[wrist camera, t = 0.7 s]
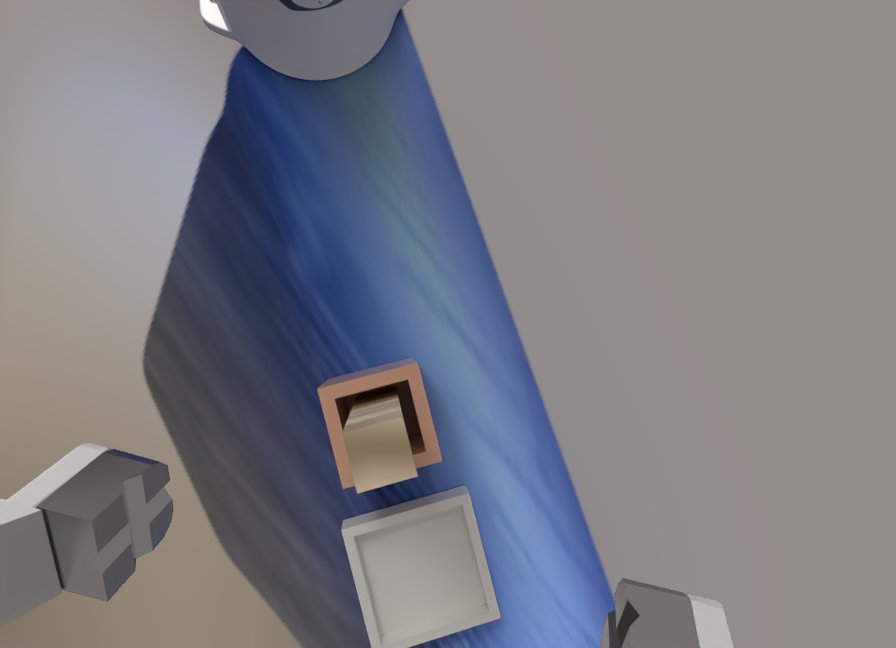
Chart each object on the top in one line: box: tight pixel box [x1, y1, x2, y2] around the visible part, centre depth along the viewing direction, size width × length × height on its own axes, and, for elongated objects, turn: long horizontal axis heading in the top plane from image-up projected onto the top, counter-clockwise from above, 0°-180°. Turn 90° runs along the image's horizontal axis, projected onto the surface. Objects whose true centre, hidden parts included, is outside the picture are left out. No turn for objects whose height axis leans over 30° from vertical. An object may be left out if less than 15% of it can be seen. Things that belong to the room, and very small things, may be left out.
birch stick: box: [342, 386, 418, 494], centre depth 40 cm, size 3×3×18 cm
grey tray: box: [341, 485, 501, 648], centre depth 49 cm, size 11×11×2 cm
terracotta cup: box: [317, 357, 443, 489], centre depth 46 cm, size 7×7×9 cm
